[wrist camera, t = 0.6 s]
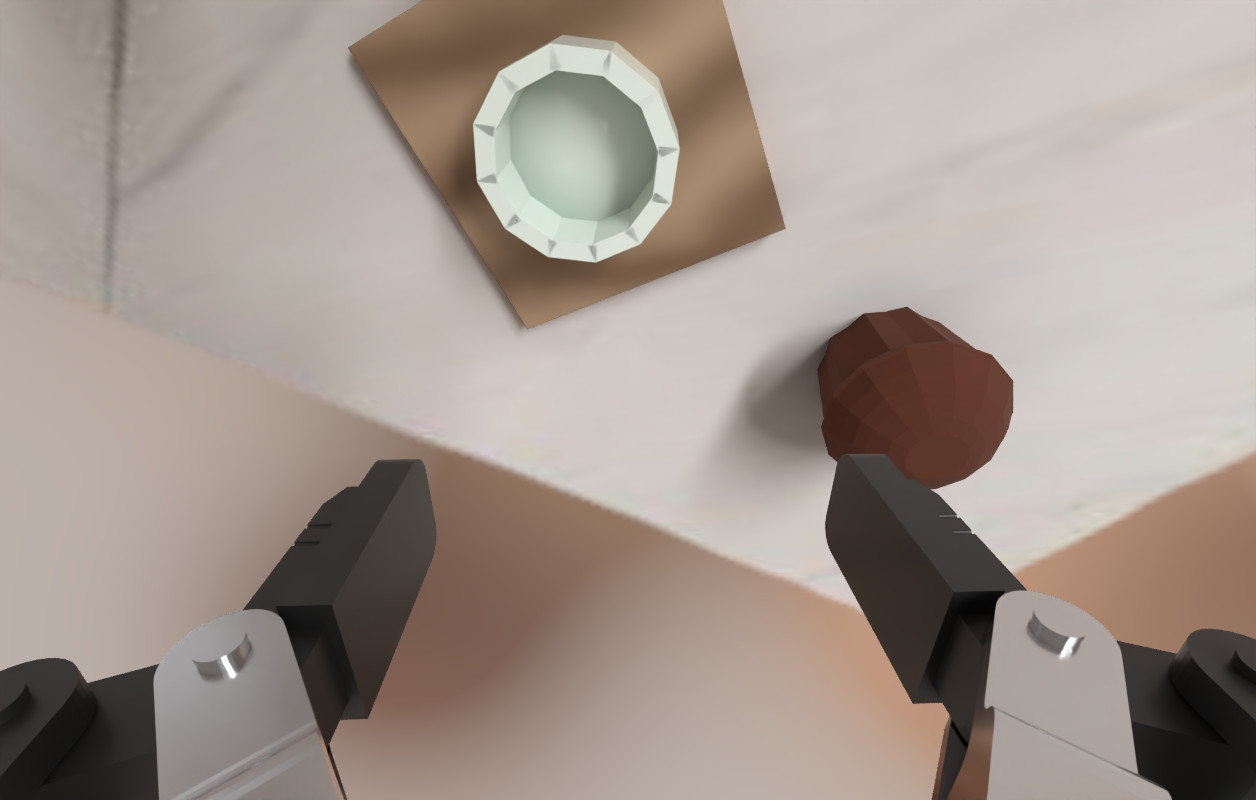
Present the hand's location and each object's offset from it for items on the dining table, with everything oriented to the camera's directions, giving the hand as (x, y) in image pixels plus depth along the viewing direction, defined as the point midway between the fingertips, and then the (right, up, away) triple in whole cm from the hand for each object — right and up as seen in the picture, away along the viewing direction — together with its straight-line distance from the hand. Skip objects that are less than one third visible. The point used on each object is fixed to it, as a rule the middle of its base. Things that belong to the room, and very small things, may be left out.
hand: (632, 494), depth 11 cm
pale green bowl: (-3, +16, +20) cm, 25 cm away
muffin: (+18, +5, +29) cm, 35 cm away
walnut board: (-3, +17, +20) cm, 27 cm away
